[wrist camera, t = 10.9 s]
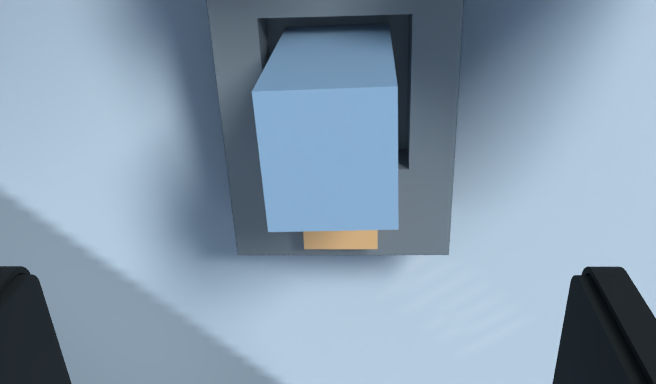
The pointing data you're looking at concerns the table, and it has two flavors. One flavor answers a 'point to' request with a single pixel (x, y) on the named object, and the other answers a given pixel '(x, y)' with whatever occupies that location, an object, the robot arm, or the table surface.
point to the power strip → (413, 117)
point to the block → (329, 129)
